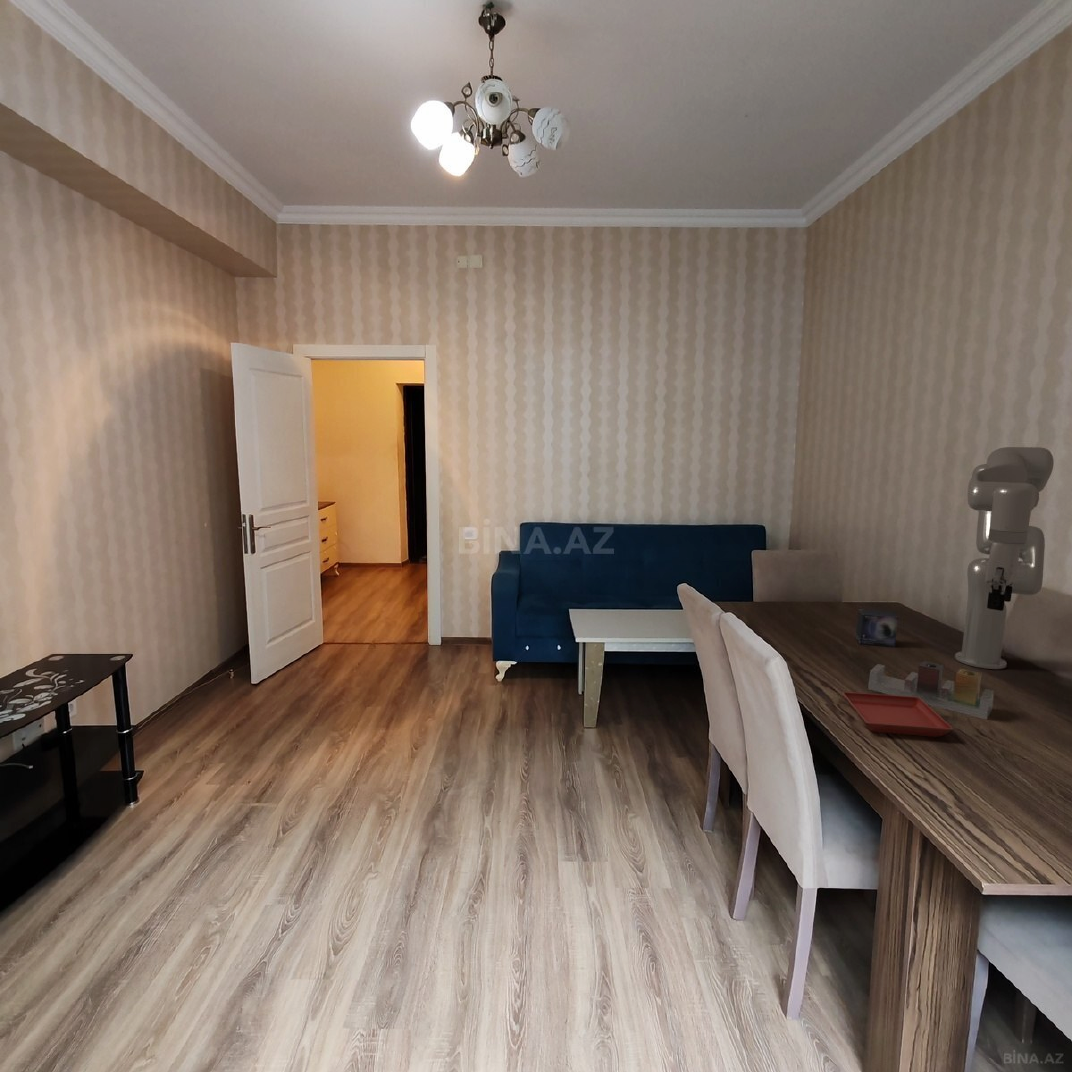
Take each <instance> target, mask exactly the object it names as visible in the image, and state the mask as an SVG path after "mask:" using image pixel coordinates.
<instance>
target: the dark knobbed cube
mask: <svg viewBox="0 0 1072 1072" xmlns="http://www.w3.org/2000/svg"><path fill="white" fill-rule="evenodd" d="M943 673H944V664H938V663H934V662H929V661H926V660H925V661H924V660H923V661H922V662H921V663H920V664H919V665H918V680H917V689H916V692H920V693H924V694H928V695H932V696H938V694H939V693H940V692H941V688H942V683H943Z"/></svg>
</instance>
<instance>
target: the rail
mask: <svg viewBox="0 0 1072 1072" xmlns="http://www.w3.org/2000/svg"><path fill="white" fill-rule="evenodd" d="M885 668H886V665H884V664H880V663H878V664H876V665H875V666H874V667H872V668H871V669H870V670H869V680H868V682H867V683H868V686H867V690H870V691H874V692H877V693H878V692H879V693H882V694H884V695H895V696H909V697H918V698H920V699H922V700H923V701H924V702H925V703H926V704H927V705H928V706H931V707H932V706H933V707H935V708H940V709H943V710H949V711H952V712H956V713H961V714H963V715H967V716H972V717H975V718H979V719H982V720H988V718H989V716H990V714H991V713H992V711H993V704H994V697H995V690H992V689H988V688H985V689H984V691H983V692H982V694H981V695H980V697H979V700H978V702H977V703H976V705H971V704H967V703H963V702H959V701H955V700H953V697H954V688H955V680H950V679H949V680H948V679H947V680H946V681H945V683H944V684H943V685H942V686H941V692H940V693H939V694H938V696H932V695H928V694H924V693H920V692H916V689H917V680H918V673H917V672H914V671H911V672H910V674H908V675H907V677H906V678H905V679H900V678H897V677H892V676H888V675H885V670H886V669H885Z"/></svg>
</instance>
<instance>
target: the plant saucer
mask: <svg viewBox="0 0 1072 1072" xmlns="http://www.w3.org/2000/svg"><path fill="white" fill-rule="evenodd" d="M842 694H843V697H844V698H845V700H846V702H847V703H848V704H849V706H850V707H851V708H852V710H853V711H854V713H856V714H857V716H858V717H859V718H860V719H861V721H862V722H863V723H864V724H865V726H866V727H867V728H868V730H869V731H870V732H873V733H882V734H895V735H896V734H897V735H910V736H921V737H934V738H939V737H942V736H944V735H947V734H948V733H950V732H951V731H952V730H954V729H953V726H951V724H949V723H948V722H947V721H946V720H945V719H943V718H942V717H941V715H939V714H938V713H937V712H936V711H935V710H934V709H933V708H931V706H930V705H928V704H926V703H925V702H924V701H923V700H922V699H920V698H918V697H909V696H895V695H889V694H878V693H863V692H852V691H850V692H848V691H847V692H846V691H843V692H842Z"/></svg>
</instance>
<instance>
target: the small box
mask: <svg viewBox="0 0 1072 1072" xmlns="http://www.w3.org/2000/svg"><path fill="white" fill-rule="evenodd" d="M856 621H857V622H856V628H855V629H856V631H855V637H854V639H855V640H856V641H857V642H858V644H859V645H861V646H863V645H864V646H871V647H872V646H874V647H883V648H885V647H886V648H895V647H896V639H897V632H898V631H897V630H898V621H899V616H898V615H897V614H896V613H894V611H891V610H890V611H889V610H888V611H887V610H874V609H873V610H872V609H860V608H859V609H858V611H857V619H856Z"/></svg>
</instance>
